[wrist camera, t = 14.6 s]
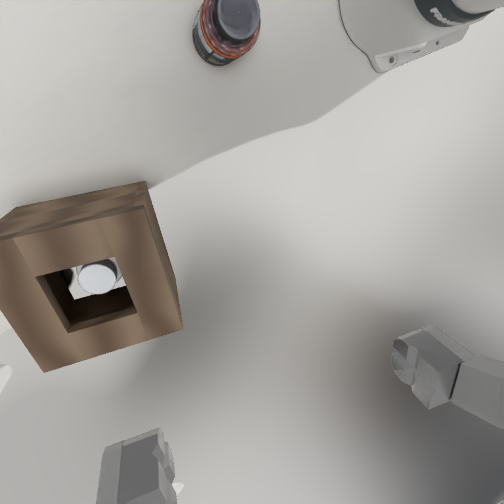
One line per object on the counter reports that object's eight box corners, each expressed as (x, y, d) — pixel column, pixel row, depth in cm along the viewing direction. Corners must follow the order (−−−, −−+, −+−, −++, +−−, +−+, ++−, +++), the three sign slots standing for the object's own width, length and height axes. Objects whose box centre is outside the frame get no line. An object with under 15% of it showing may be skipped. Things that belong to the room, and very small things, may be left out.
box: (145, 181, 40) (143, 208, 29) (175, 277, 48) (183, 329, 37) (15, 207, 37) (-41, 250, 26) (70, 306, 45) (43, 372, 34)
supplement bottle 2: (235, 4, 35) (267, -35, 26) (243, 63, 38) (275, 47, 28) (185, 10, 34) (200, -29, 24) (197, 69, 37) (215, 56, 27)
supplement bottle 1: (123, 266, 45) (116, 303, 36) (83, 258, 42) (65, 295, 34) (131, 234, 43) (126, 264, 34) (90, 224, 41) (74, 254, 32)
